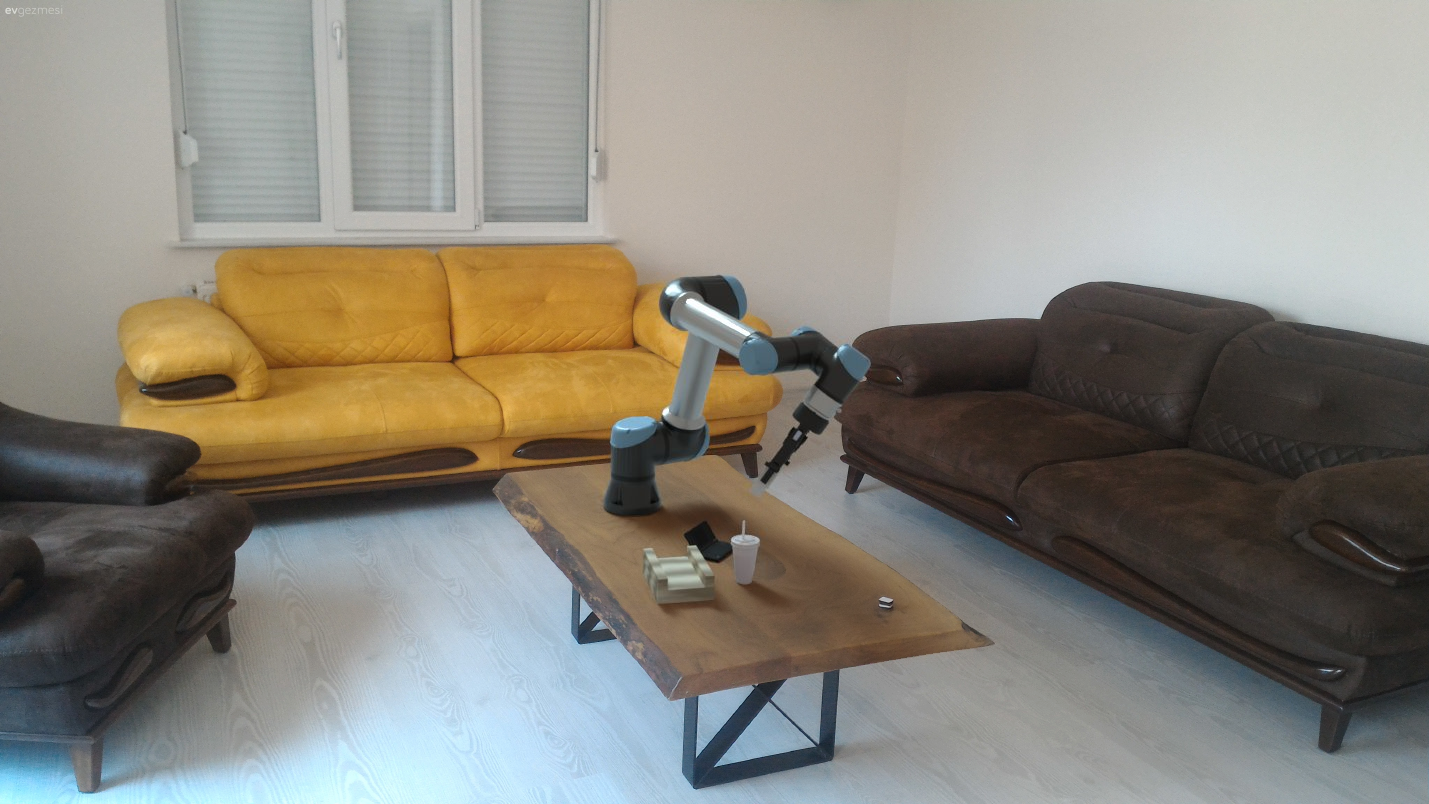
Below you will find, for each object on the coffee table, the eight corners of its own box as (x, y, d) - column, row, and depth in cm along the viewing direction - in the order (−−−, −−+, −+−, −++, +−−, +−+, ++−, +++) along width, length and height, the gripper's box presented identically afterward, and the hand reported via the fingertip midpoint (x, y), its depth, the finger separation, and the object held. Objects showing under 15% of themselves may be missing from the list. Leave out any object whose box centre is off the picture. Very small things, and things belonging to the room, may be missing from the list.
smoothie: (727, 574, 227) (730, 515, 224) (756, 574, 228) (759, 515, 225) (730, 586, 221) (733, 526, 218) (760, 586, 222) (763, 526, 218)
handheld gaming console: (726, 557, 233) (704, 520, 234) (701, 572, 235) (679, 535, 236) (740, 547, 244) (719, 511, 245) (716, 561, 246) (695, 526, 247)
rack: (642, 571, 227) (643, 548, 226) (695, 568, 230) (695, 545, 229) (657, 604, 211) (658, 579, 210) (713, 599, 214) (714, 575, 213)
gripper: (826, 426, 204) (764, 509, 208) (834, 416, 229) (779, 491, 232) (796, 404, 205) (735, 487, 208) (807, 396, 230) (752, 471, 233)
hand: (758, 489), depth 220 cm, fingers open, 13 cm apart
